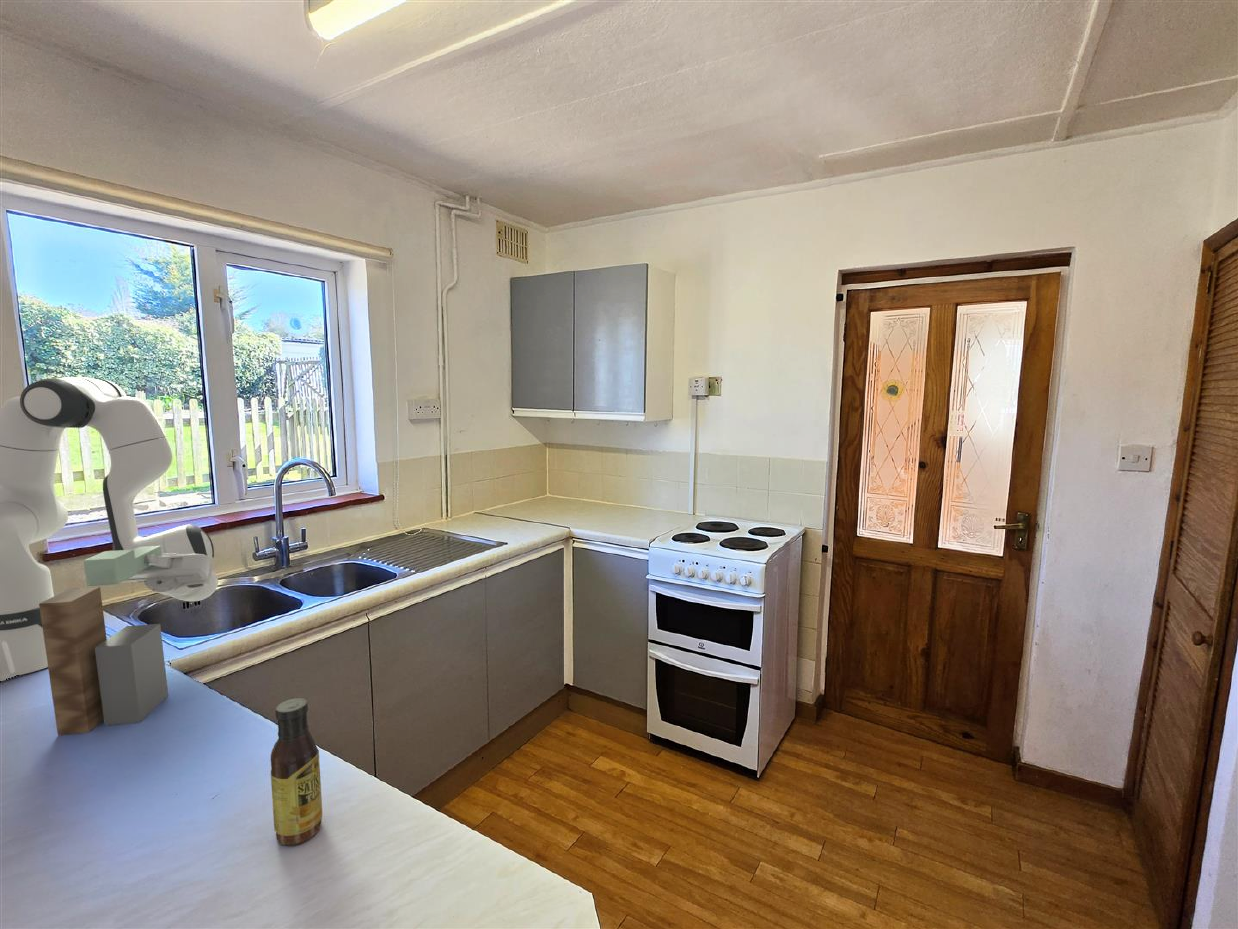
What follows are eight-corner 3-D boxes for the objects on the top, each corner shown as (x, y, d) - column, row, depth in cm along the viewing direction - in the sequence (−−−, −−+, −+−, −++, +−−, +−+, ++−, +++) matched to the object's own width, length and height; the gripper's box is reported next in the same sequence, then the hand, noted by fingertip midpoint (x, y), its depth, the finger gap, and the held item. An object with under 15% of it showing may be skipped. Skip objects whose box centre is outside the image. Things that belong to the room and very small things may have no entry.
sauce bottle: (308, 849, 83) (298, 719, 80) (265, 848, 83) (253, 719, 80) (332, 815, 89) (323, 694, 86) (292, 814, 89) (282, 694, 86)
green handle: (87, 586, 108) (83, 560, 107) (138, 560, 123) (135, 537, 123) (118, 584, 109) (114, 558, 108) (165, 559, 124) (162, 536, 124)
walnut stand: (57, 735, 109) (39, 603, 106) (87, 712, 117) (70, 588, 113) (88, 732, 110) (71, 601, 107) (115, 709, 118) (100, 586, 114)
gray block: (104, 725, 112) (94, 647, 110) (135, 698, 122) (127, 626, 120) (140, 721, 114) (130, 644, 111) (168, 695, 123) (160, 623, 121)
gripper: (118, 563, 129) (76, 548, 117) (221, 556, 133) (191, 541, 121) (112, 591, 127) (69, 579, 114) (217, 584, 131) (186, 571, 118)
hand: (133, 559), depth 117 cm, fingers closed on green handle, 4 cm apart
